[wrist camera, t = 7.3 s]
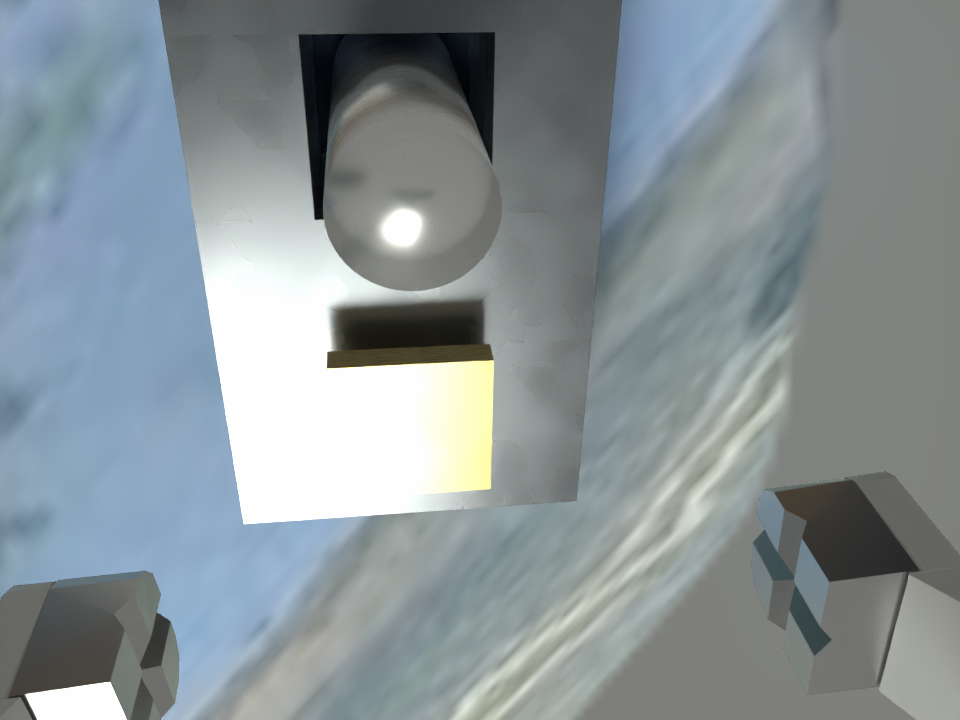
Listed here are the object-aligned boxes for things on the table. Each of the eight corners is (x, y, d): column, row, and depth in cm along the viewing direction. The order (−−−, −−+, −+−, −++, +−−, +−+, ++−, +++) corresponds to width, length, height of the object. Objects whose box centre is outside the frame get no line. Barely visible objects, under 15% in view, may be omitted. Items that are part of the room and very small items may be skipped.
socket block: (546, 408, 38) (576, 501, 33) (258, 425, 37) (243, 523, 32) (580, -126, 28) (631, -110, 23) (180, -129, 27) (140, -114, 21)
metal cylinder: (452, 132, 32) (500, 287, 21) (337, 135, 31) (329, 294, 21) (451, 12, 30) (504, 120, 19) (328, 13, 29) (316, 124, 19)
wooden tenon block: (466, 369, 36) (490, 489, 30) (340, 375, 36) (338, 499, 29) (467, 255, 34) (493, 360, 27) (331, 260, 33) (326, 368, 27)
